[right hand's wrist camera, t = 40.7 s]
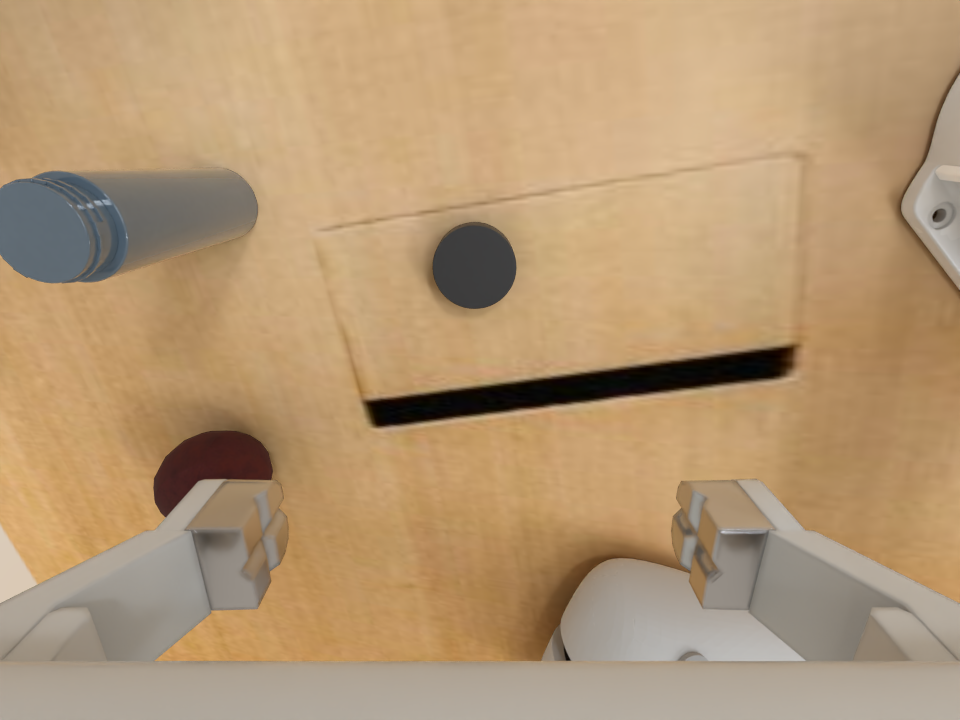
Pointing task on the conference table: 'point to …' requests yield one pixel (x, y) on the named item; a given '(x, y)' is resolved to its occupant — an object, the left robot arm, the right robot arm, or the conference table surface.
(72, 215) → the grey cylinder
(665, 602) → the white rounded housing
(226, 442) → the potato
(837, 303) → the conference table surface
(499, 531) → the conference table surface
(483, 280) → the lid
